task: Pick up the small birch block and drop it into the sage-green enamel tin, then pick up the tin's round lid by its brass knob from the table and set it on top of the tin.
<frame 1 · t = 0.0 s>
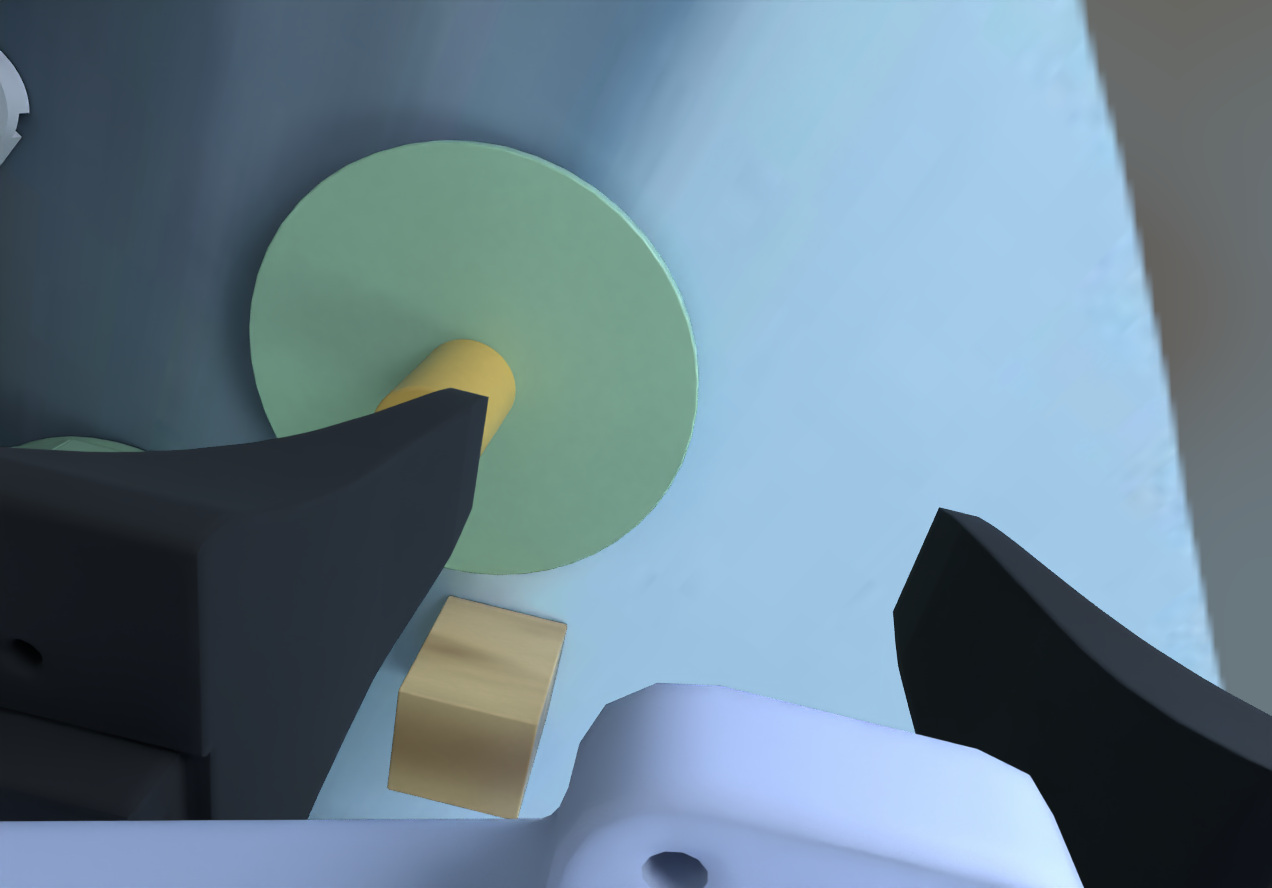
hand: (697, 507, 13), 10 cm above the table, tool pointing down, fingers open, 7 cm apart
lid: (474, 377, 23), point 1 cm above the table
tin: (127, 587, 28), on the table
block: (499, 655, 28), on the table
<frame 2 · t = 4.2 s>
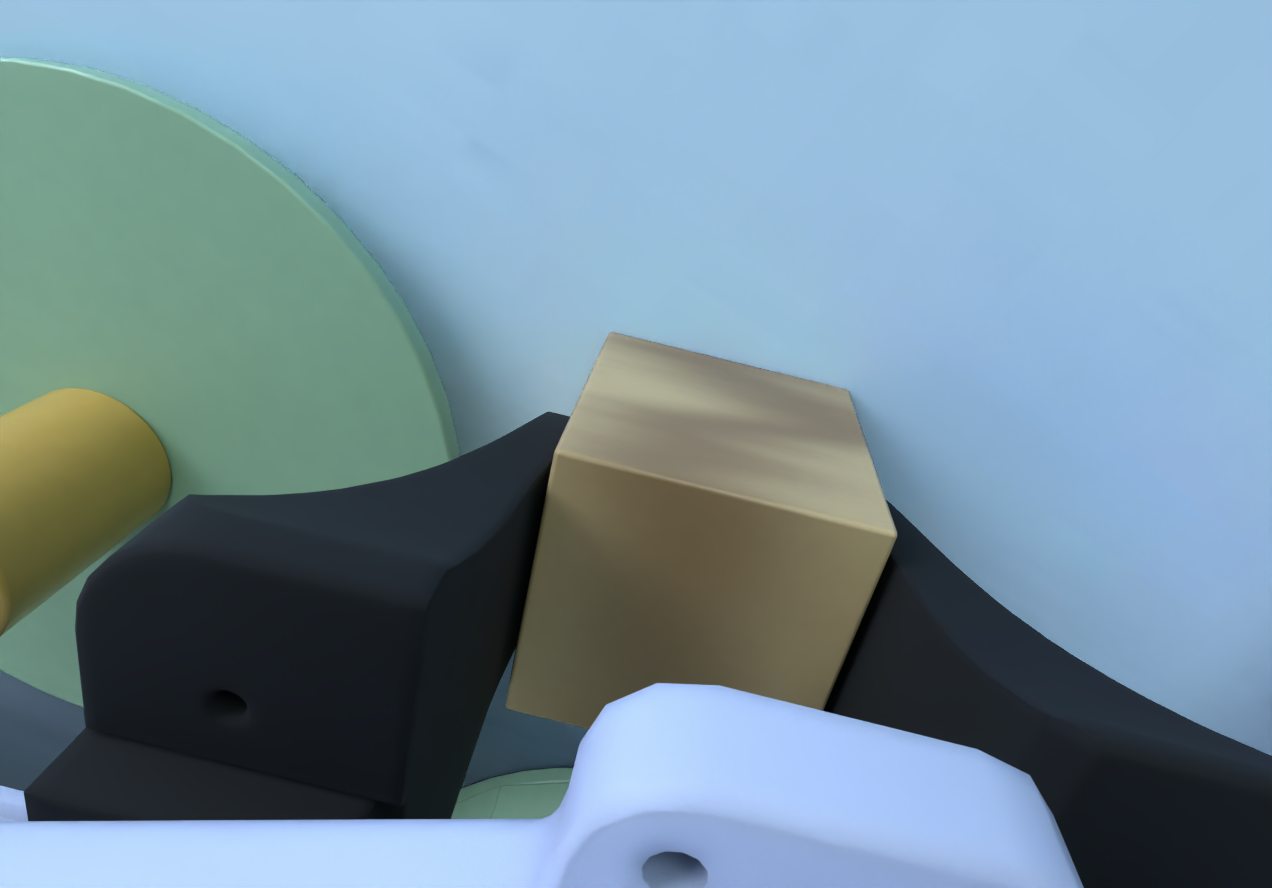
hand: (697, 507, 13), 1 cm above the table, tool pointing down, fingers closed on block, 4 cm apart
lid: (120, 444, 15), point 1 cm above the table
block: (699, 466, 14), on the table, touching gripper
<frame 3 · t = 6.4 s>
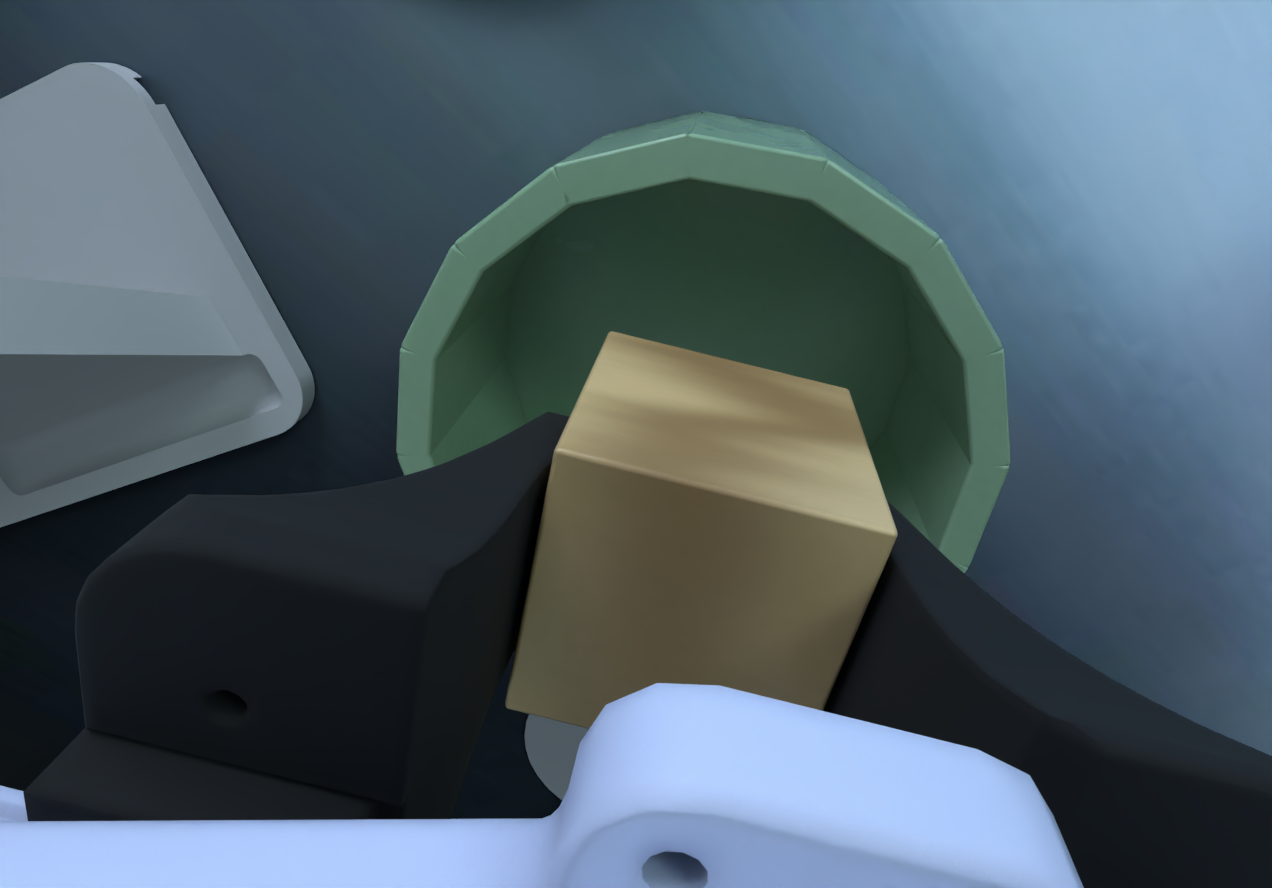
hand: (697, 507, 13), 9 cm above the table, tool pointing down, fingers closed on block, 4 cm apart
tin: (702, 351, 21), on the table
block: (699, 465, 14), point 8 cm above the table, touching gripper
wine glass: (629, 743, 28), on the table
when the fingers open (2 cm above the table, at t = 9.2 s): block stays where it is, resting on tin.
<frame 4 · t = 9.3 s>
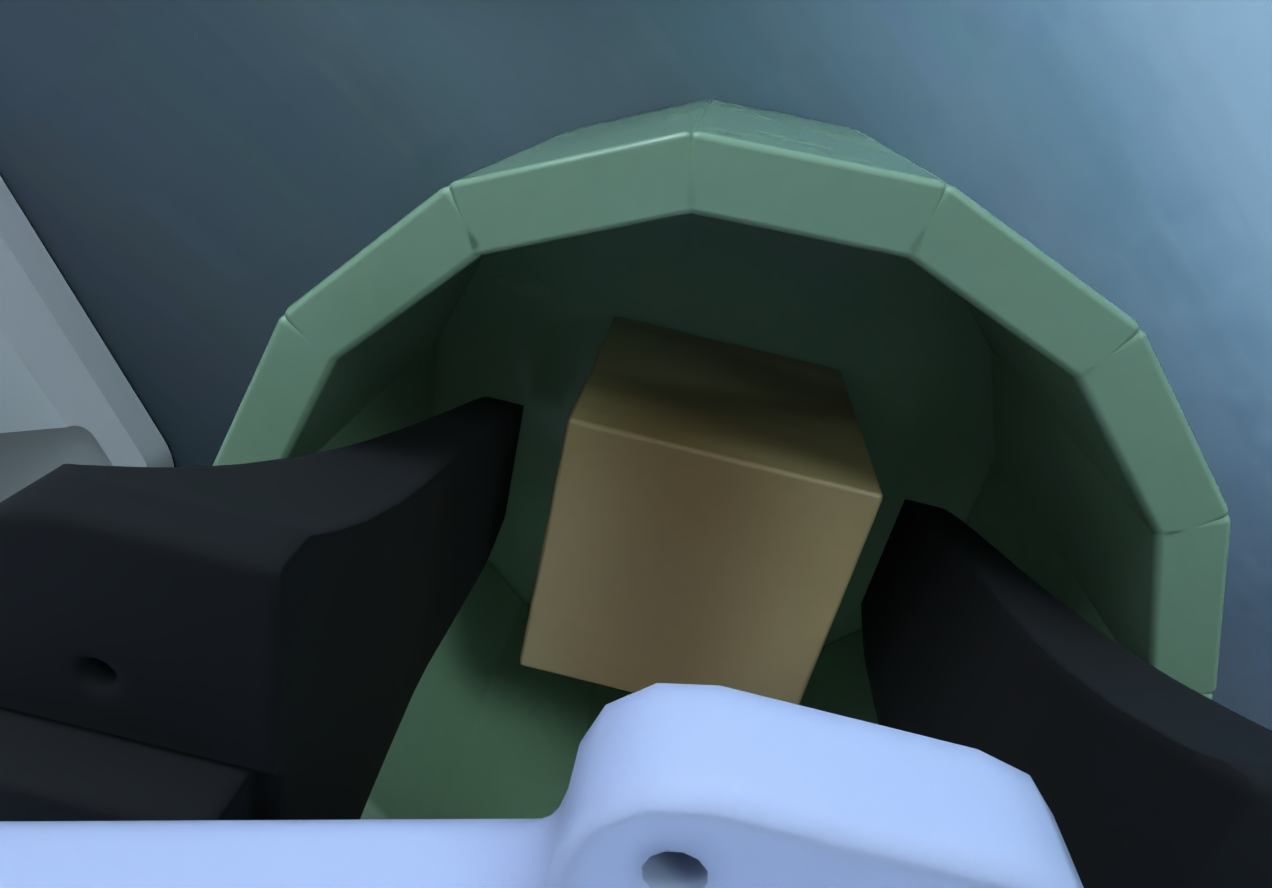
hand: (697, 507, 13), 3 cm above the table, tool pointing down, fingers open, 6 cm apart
tin: (703, 436, 15), on the table
block: (699, 444, 15), resting on tin
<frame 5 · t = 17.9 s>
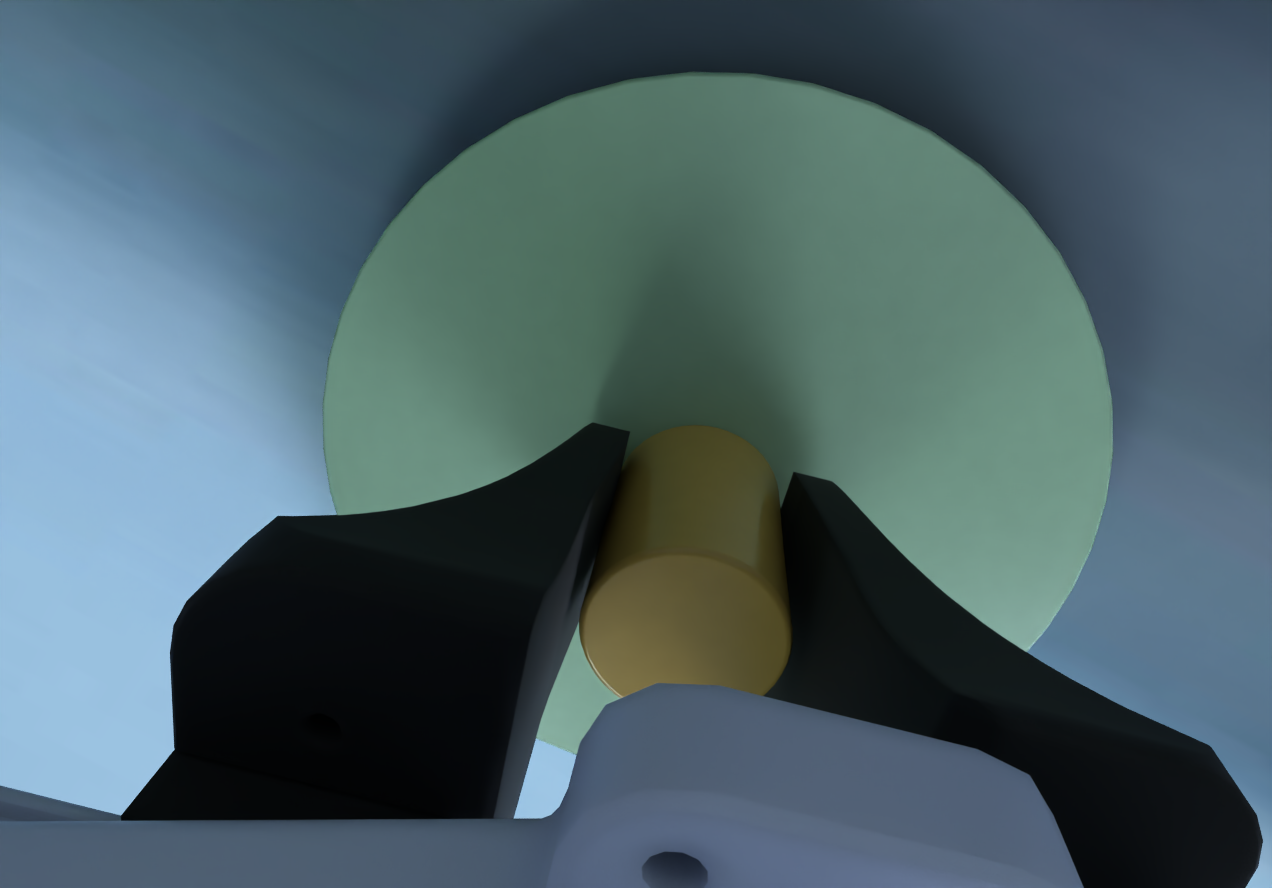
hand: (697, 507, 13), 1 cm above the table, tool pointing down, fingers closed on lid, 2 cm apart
lid: (697, 482, 14), point 1 cm above the table, touching gripper
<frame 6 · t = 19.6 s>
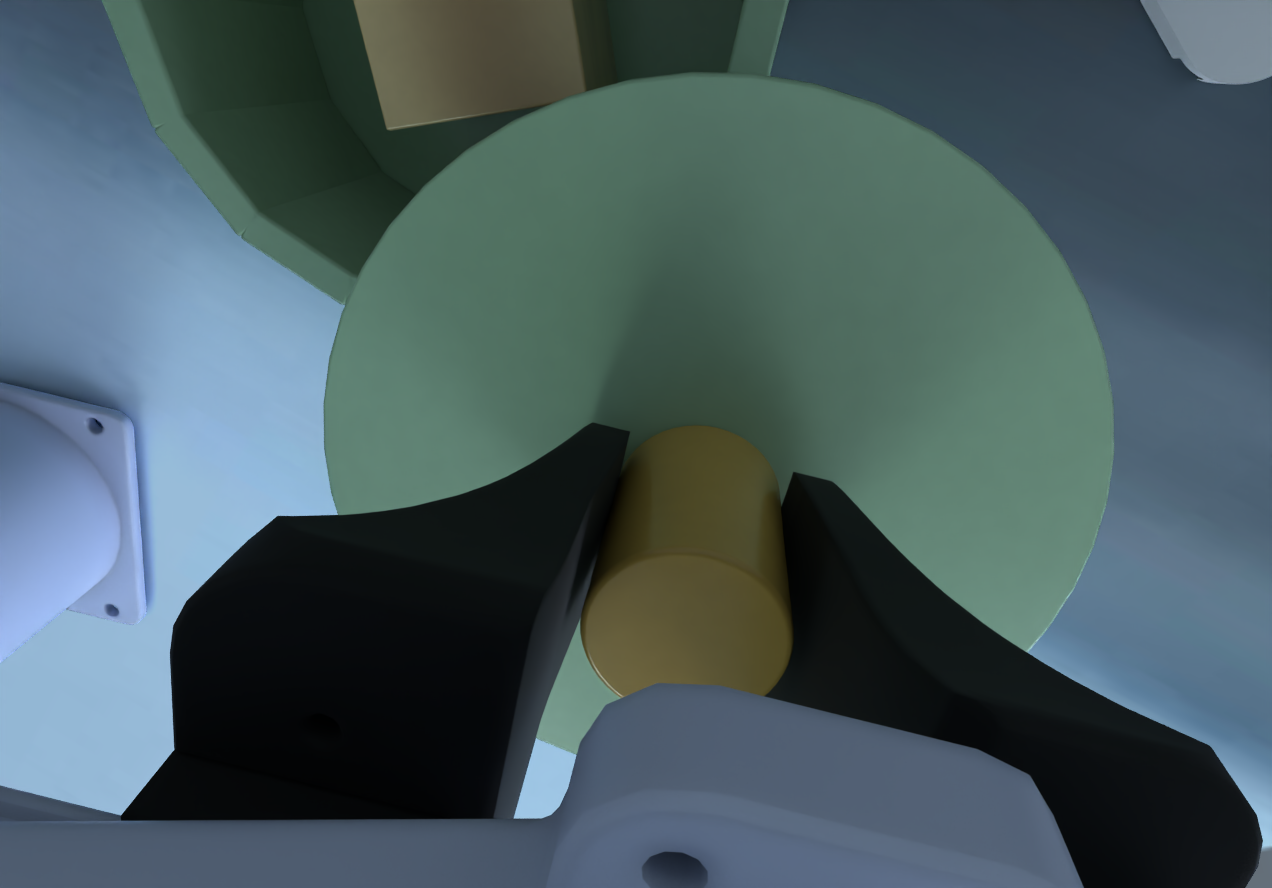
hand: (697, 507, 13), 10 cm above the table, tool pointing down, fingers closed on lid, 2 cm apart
lid: (698, 482, 14), point 9 cm above the table, touching gripper
tin: (521, 10, 19), on the table
block: (519, 9, 19), resting on tin
when the fingers open (7 cm above the table, at t = 21.5 s): lid stays where it is, resting on tin.
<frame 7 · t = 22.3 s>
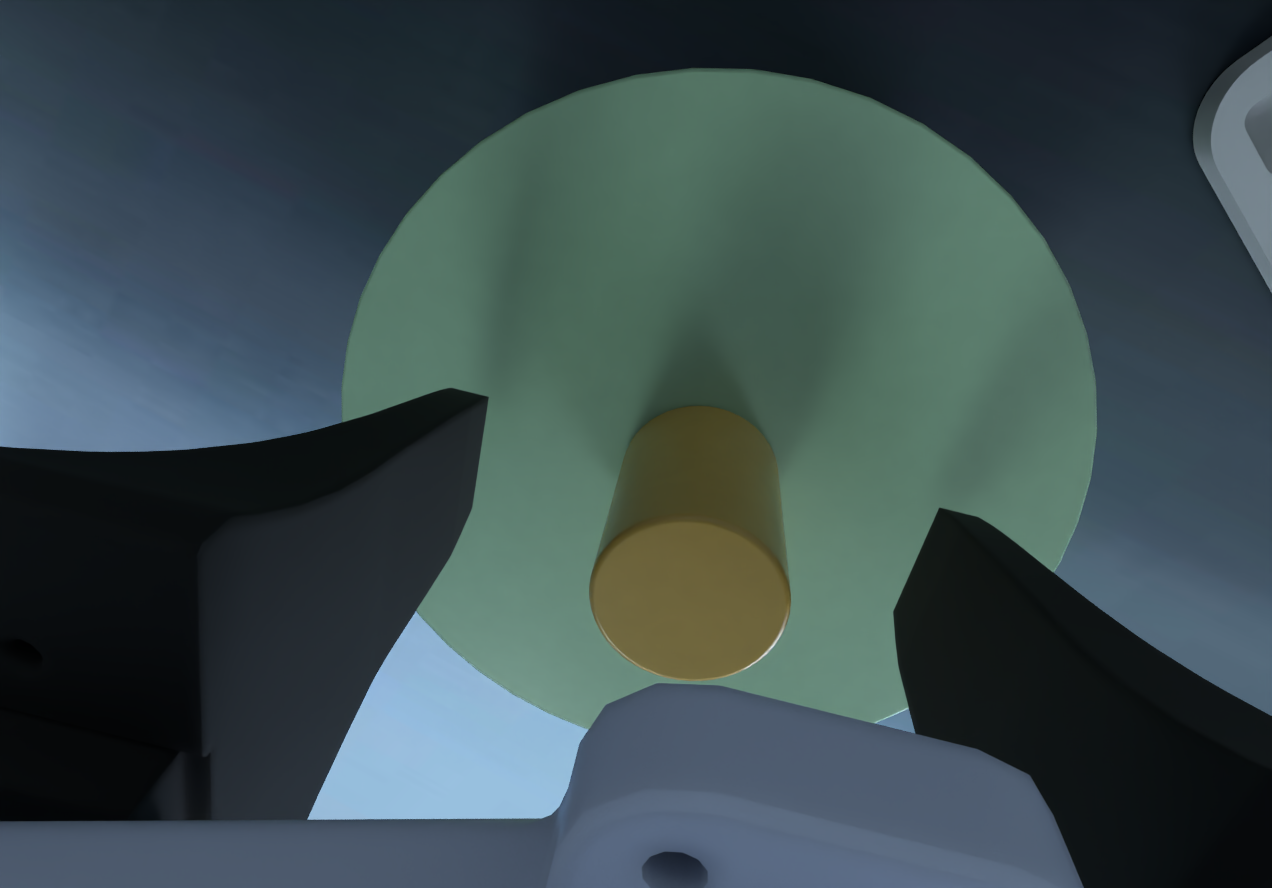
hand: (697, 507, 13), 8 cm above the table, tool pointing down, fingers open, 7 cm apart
lid: (700, 462, 14), point 6 cm above the table, touching tin
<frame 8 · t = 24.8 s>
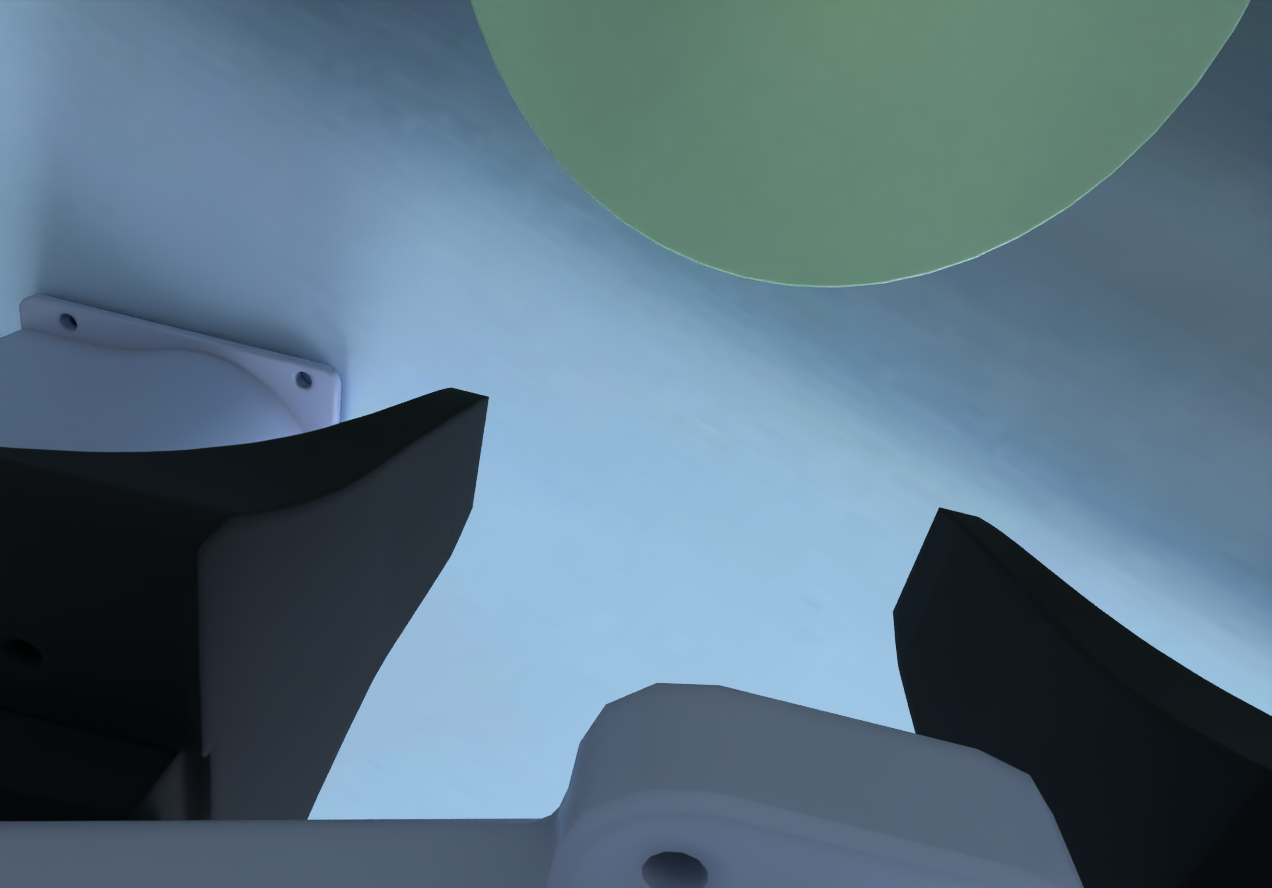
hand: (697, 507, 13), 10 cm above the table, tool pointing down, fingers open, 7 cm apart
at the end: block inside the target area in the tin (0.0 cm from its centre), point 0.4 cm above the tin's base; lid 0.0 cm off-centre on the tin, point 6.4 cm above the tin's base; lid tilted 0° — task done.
